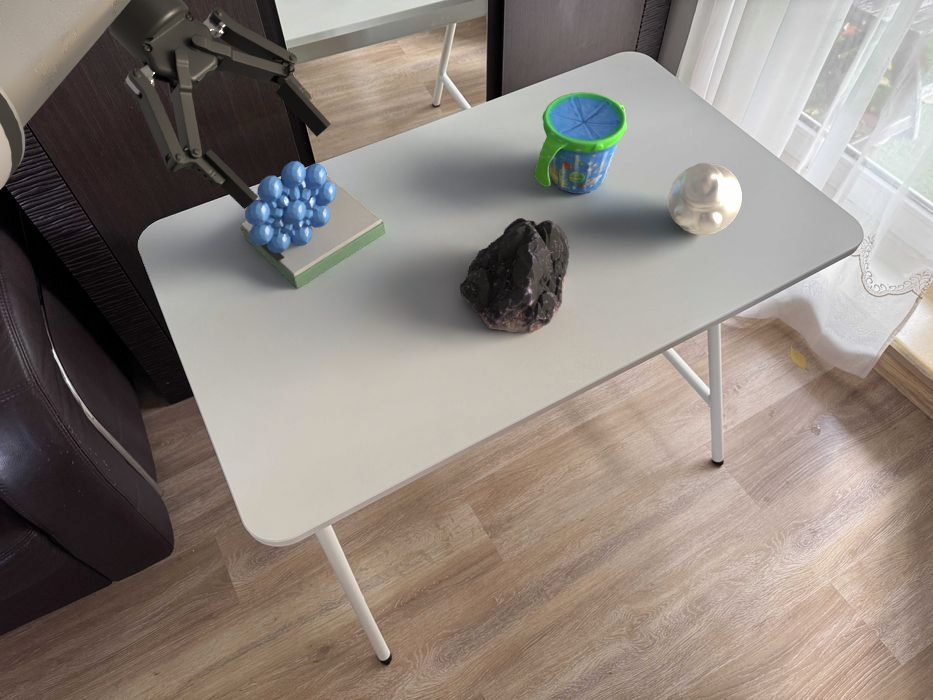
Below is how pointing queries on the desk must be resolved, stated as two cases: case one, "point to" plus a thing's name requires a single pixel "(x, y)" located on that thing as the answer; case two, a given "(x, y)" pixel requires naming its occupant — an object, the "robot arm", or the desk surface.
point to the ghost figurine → (704, 198)
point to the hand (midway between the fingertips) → (289, 165)
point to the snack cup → (580, 141)
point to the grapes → (290, 206)
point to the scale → (326, 240)
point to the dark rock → (519, 277)
